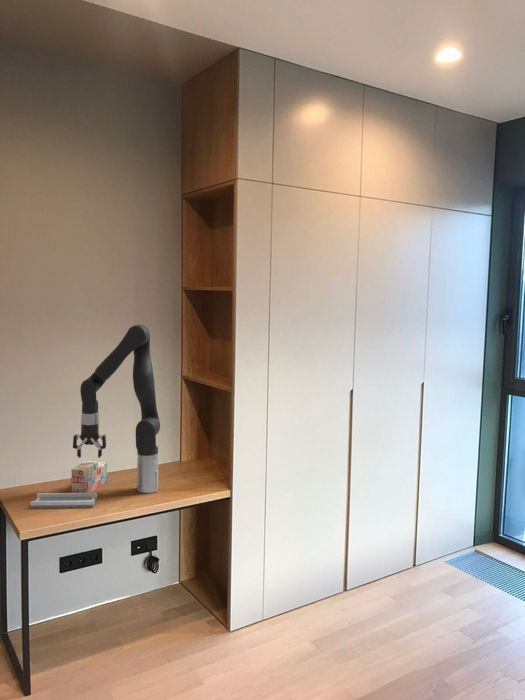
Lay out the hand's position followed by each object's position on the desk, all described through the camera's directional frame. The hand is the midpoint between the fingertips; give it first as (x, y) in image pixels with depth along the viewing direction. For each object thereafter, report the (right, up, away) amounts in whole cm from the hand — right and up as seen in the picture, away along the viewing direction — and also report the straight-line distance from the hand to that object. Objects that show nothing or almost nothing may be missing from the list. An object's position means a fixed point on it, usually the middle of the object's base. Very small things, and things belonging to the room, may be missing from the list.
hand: (89, 457), depth 255 cm
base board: (-5, -16, -17) cm, 24 cm away
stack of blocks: (0, -15, +2) cm, 15 cm away
